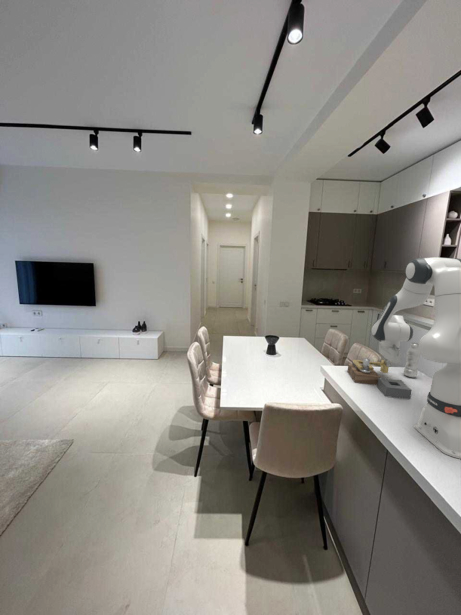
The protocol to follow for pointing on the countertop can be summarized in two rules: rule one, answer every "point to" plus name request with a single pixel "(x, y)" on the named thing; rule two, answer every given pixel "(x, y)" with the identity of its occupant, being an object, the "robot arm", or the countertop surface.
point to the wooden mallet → (383, 367)
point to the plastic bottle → (412, 360)
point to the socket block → (362, 375)
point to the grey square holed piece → (394, 388)
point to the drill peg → (365, 366)
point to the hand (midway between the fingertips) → (387, 366)
